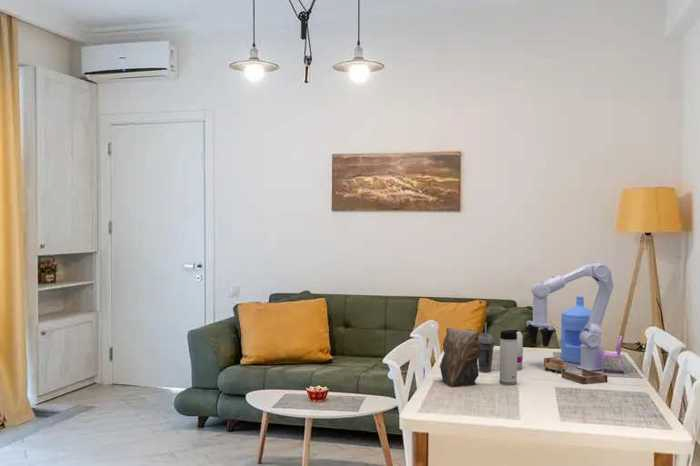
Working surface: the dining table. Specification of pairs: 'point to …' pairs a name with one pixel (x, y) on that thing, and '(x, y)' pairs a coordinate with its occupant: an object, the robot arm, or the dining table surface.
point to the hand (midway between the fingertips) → (539, 345)
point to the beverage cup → (485, 351)
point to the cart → (554, 364)
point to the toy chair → (614, 355)
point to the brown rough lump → (460, 357)
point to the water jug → (573, 331)
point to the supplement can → (519, 350)
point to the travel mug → (508, 357)
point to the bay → (588, 379)
